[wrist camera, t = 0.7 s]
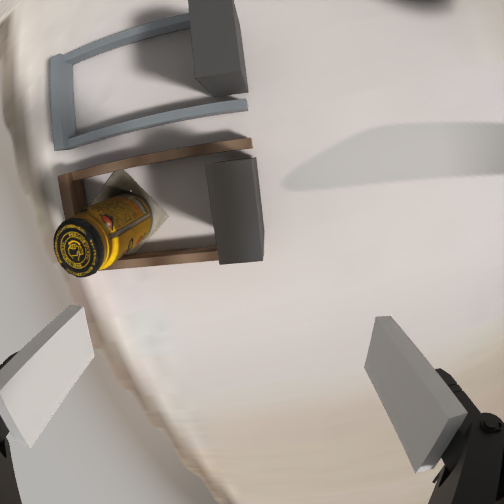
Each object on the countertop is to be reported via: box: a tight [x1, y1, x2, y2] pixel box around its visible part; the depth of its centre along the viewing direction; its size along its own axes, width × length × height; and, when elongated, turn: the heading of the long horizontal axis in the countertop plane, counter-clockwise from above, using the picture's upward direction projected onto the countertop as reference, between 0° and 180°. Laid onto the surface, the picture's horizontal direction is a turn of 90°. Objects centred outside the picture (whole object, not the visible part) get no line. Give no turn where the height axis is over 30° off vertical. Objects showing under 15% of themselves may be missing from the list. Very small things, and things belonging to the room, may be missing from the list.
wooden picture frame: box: [58, 138, 264, 271], centre depth 29 cm, size 22×12×9 cm, turn 96°
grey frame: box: [50, 0, 248, 151], centre depth 24 cm, size 22×12×9 cm, turn 96°
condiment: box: [54, 169, 169, 277], centre depth 28 cm, size 7×8×12 cm
